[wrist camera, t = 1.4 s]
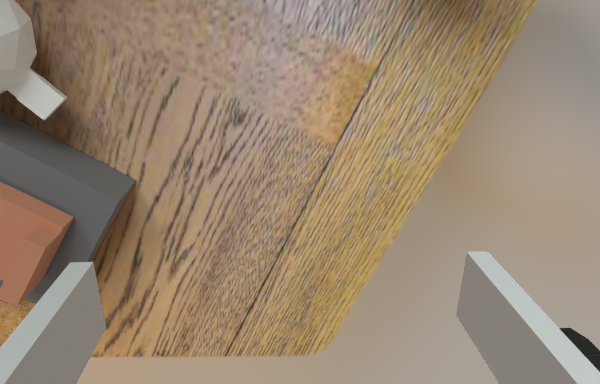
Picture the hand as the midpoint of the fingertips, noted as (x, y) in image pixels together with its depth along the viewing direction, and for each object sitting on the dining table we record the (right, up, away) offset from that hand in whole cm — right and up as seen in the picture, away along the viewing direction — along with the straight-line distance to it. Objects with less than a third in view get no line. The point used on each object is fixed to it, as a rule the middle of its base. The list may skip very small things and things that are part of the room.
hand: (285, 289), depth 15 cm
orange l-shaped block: (-23, 0, +21) cm, 31 cm away
